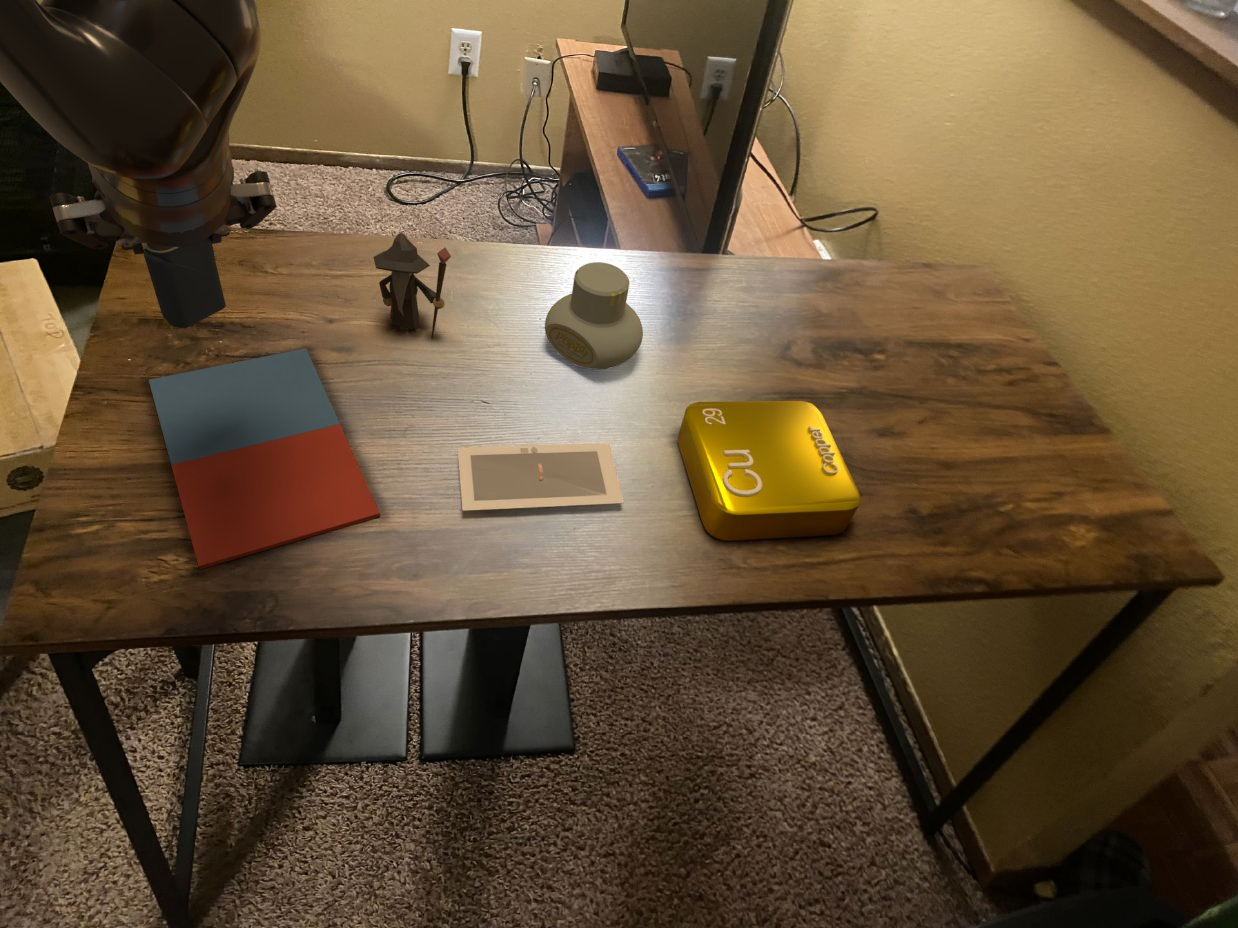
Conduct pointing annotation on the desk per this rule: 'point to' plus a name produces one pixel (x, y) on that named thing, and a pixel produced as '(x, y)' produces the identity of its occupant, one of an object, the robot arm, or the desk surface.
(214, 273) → the vaping device
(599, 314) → the air freshener
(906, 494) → the desk surface
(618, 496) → the touchpad
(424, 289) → the wizard figurine
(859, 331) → the desk surface
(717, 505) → the element tile
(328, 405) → the sorting mat
